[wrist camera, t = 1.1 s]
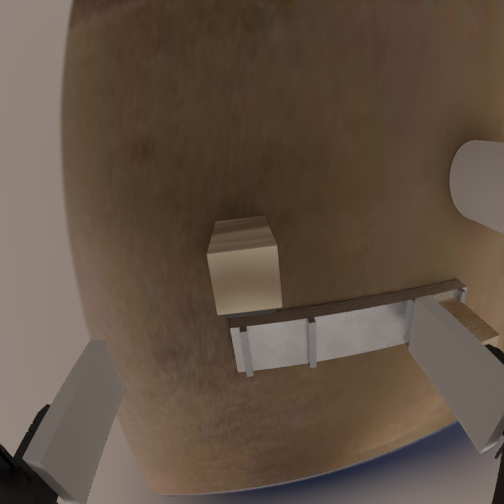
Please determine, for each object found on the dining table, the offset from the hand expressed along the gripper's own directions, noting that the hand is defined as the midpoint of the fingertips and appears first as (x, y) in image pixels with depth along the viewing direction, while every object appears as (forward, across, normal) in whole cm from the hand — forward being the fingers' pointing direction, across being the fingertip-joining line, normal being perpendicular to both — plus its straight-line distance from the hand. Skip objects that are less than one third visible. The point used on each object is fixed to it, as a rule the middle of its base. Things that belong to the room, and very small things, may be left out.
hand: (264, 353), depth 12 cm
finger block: (+15, 0, 0) cm, 15 cm away
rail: (+15, +9, -9) cm, 20 cm away
